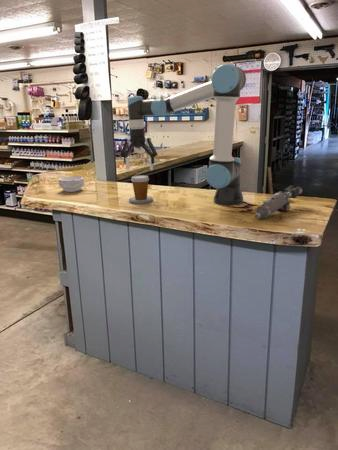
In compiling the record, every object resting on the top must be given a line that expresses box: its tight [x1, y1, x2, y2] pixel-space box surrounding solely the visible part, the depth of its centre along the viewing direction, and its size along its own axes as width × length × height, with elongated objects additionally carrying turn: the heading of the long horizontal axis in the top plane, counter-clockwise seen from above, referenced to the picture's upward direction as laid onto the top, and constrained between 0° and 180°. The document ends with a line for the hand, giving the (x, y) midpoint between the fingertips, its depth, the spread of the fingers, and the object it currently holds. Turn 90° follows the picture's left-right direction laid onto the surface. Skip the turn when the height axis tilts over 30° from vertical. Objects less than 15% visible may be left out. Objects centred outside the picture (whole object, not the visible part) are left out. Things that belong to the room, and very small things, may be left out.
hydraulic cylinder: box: [254, 185, 303, 220], centre depth 170 cm, size 7×37×10 cm, turn 135°
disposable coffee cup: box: [130, 174, 150, 200], centre depth 197 cm, size 10×10×12 cm
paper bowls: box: [58, 176, 85, 193], centre depth 231 cm, size 15×15×8 cm
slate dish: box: [128, 195, 154, 205], centre depth 199 cm, size 13×13×1 cm
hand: (139, 169), depth 194 cm, fingers open, 13 cm apart
